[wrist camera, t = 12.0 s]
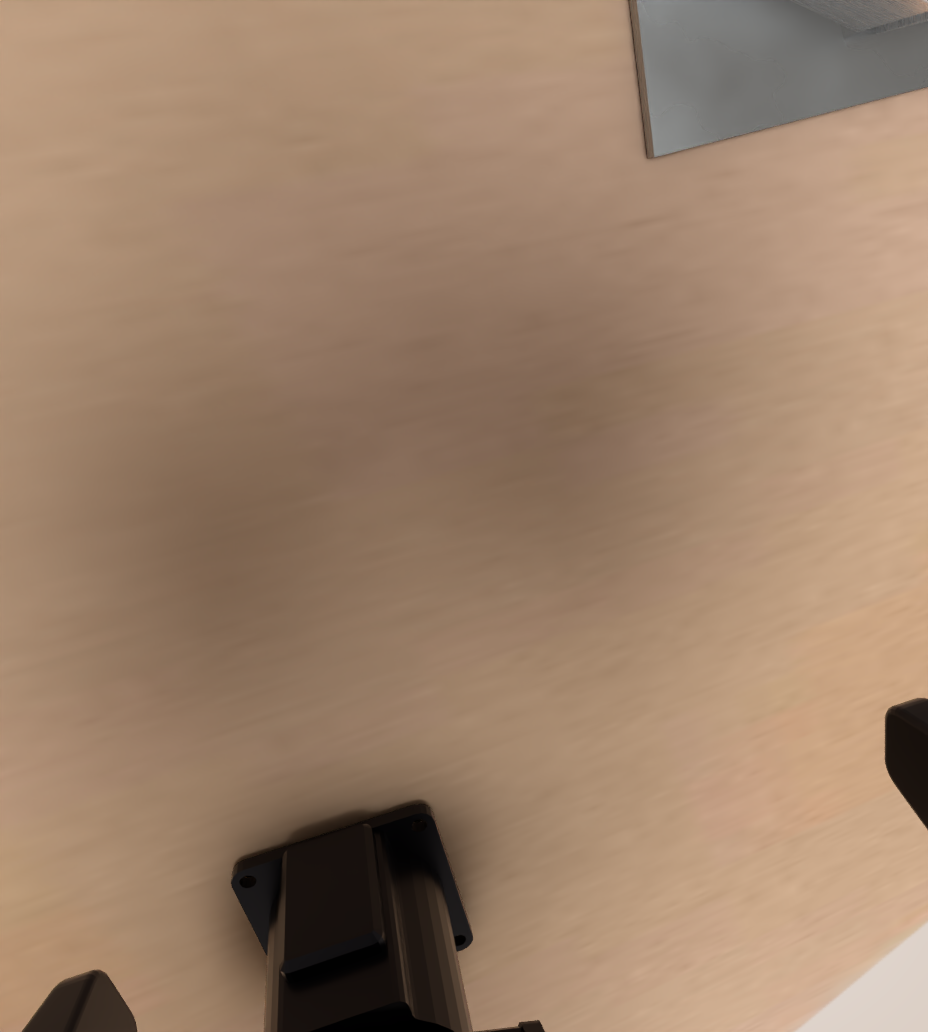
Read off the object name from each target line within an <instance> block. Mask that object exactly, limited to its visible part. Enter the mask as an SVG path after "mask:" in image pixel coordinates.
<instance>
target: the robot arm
mask: <svg viewBox="0 0 928 1032" xmlns="http://www.w3.org/2000/svg"><path fill="white" fill-rule="evenodd" d="M885 764H886V768H887V771H888V773H889V775H890V777H891V779H892V781H893V782H894V784H895V785H896V787H897V788H898V790H899V791H900V792H901V794H902V795H903V796H904V798H905V799H906V801H907V802H908V803H909V805H910V806H911V808H912V809H913V810H914V812H915V813H916V814H917V816H918V817H919V819H920V820H921V821H922V823H923V824H924V825H925V827H926V828H927V830H928V699H926V698H916V699H913V700H910V701H907V702H904V703H901V704H898V705H895V706H892V707H890V708H889V709H888V711H887V713H886V715H885ZM418 819H423V821H421V822H417V823H415V822H414V821H416V820H418ZM249 875H250V876H253V877H249V878H246V877H244V876H249ZM231 884H232V888H233V890H234V892H235V894H236V896H237V898H238V900H239V902H240V904H241V906H242V908H243V910H244V912H245V914H246V915H247V917H248V919H249V921H250V923H251V925H252V927H253V929H254V931H255V933H256V935H257V937H258V939H259V941H260V943H261V945H262V947H263V949H264V951H265V953H266V955H267V974H266V995H265V1016H264V1032H473V1030H472V1025H471V1020H470V1015H469V1010H468V1005H467V1000H466V995H465V991H464V986H463V981H462V976H461V971H460V966H459V961H458V956H457V952H458V951H461V950H463V949H465V948H467V947H468V946H469V945H470V944H471V943H472V941H473V935H472V930H471V926H470V923H469V920H468V917H467V914H466V911H465V908H464V905H463V902H462V899H461V896H460V893H459V890H458V887H457V884H456V881H455V878H454V875H453V872H452V869H451V866H450V863H449V860H448V857H447V854H446V851H445V847H444V844H443V841H442V838H441V835H440V832H439V829H438V826H437V823H436V820H435V817H434V814H433V811H432V810H431V808H430V807H428V806H427V805H424V804H416V805H412V806H409V807H406V808H403V809H400V810H396V811H393V812H390V813H387V814H384V815H381V816H378V817H375V818H372V819H369V820H366V821H363V822H360V823H356V824H353V825H350V826H347V827H344V828H341V829H338V830H335V831H332V832H329V833H326V834H323V835H320V836H317V837H313V838H310V839H307V840H304V841H301V842H298V843H295V844H292V845H289V846H286V847H283V848H280V849H277V850H274V851H270V852H267V853H264V854H261V855H258V856H255V857H252V858H249V859H246V860H243V861H241V862H239V863H237V864H236V865H235V867H234V868H233V871H232V879H231ZM457 935H458V936H457ZM22 1032H137V1027H136V1022H135V1019H134V1016H133V1014H132V1012H131V1011H130V1009H129V1008H128V1006H127V1004H126V1003H125V1001H124V1000H123V998H122V997H121V995H120V994H119V992H118V991H117V989H116V987H115V986H114V984H113V983H112V981H111V980H110V978H109V977H108V975H107V974H106V973H105V972H103V971H101V970H92V971H89V972H86V973H83V974H80V975H77V976H74V977H71V978H68V979H65V980H63V981H62V982H60V983H59V984H58V985H57V986H56V987H55V988H54V989H53V990H52V991H51V993H50V994H49V995H48V997H47V998H46V999H45V1001H44V1002H43V1003H42V1005H41V1006H40V1007H39V1009H38V1010H37V1012H36V1013H35V1014H34V1016H33V1017H32V1018H31V1020H30V1021H29V1022H28V1024H27V1025H26V1026H25V1028H24V1029H23V1030H22ZM476 1032H545V1031H544V1029H543V1027H542V1025H541V1023H540V1021H539V1020H537V1021H528V1022H519V1025H518V1027H510V1028H501V1029H493V1030H484V1031H476Z"/></svg>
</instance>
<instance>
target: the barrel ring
mask: <svg viewBox="0 0 928 1032" xmlns="http://www.w3.org/2000/svg"><path fill="white" fill-rule="evenodd" d="M629 4H630V12H631V21H632V29H633V38H634V46H635V55H636V64H637V72H638V81H639V89H640V98H641V106H642V115H643V124H644V132H645V141H646V149H647V158H653V157H658V156H661V155H665V154H669V153H673V152H677V151H681V150H685V149H689V148H692V147H696V146H700V145H704V144H708V143H712V142H716V141H720V140H723V139H727V138H731V137H735V136H739V135H743V134H747V133H750V132H754V131H758V130H762V129H766V128H770V127H774V126H778V125H781V124H785V123H789V122H793V121H797V120H801V119H805V118H809V117H812V116H816V115H820V114H824V113H828V112H832V111H836V110H840V109H843V108H847V107H851V106H855V105H859V104H863V103H867V102H870V101H874V100H878V99H882V98H886V97H890V96H894V95H898V94H901V93H905V92H909V91H913V90H917V89H921V88H925V87H928V0H629Z"/></svg>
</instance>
